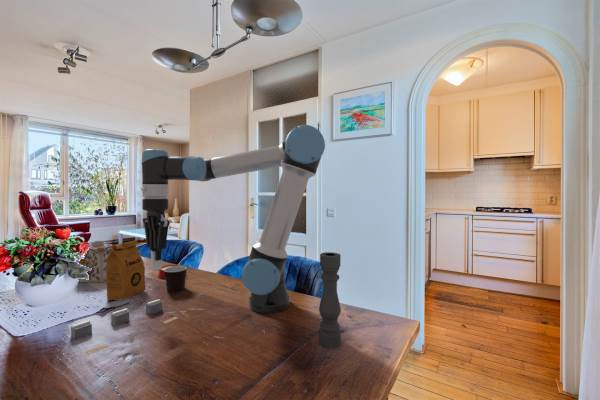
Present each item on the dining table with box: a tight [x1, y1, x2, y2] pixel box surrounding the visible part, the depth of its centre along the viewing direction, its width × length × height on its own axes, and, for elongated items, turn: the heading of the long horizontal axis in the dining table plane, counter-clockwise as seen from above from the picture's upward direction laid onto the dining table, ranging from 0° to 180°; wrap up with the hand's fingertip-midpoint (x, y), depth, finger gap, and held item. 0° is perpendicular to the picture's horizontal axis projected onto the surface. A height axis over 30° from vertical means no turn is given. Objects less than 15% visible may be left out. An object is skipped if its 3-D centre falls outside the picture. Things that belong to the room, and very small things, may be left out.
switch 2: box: [110, 307, 130, 327], centre depth 88 cm, size 3×4×4 cm
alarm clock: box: [157, 264, 178, 279], centre depth 139 cm, size 10×6×15 cm
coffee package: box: [105, 239, 147, 301], centre depth 112 cm, size 10×12×22 cm
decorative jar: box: [77, 240, 114, 283], centre depth 134 cm, size 12×12×18 cm
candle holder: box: [318, 251, 342, 349], centre depth 79 cm, size 6×6×25 cm
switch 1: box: [70, 320, 93, 341], centre depth 80 cm, size 3×4×4 cm
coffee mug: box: [164, 265, 188, 293], centre depth 118 cm, size 12×9×10 cm
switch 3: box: [145, 298, 163, 316], centre depth 95 cm, size 3×4×4 cm
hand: (156, 269), depth 92 cm, fingers closed
